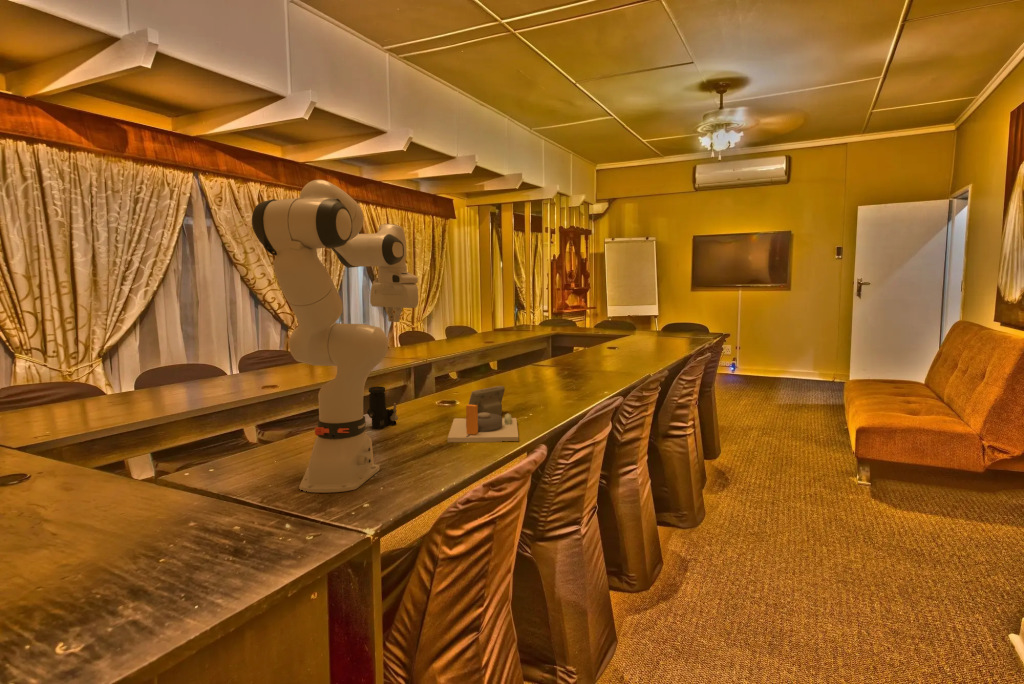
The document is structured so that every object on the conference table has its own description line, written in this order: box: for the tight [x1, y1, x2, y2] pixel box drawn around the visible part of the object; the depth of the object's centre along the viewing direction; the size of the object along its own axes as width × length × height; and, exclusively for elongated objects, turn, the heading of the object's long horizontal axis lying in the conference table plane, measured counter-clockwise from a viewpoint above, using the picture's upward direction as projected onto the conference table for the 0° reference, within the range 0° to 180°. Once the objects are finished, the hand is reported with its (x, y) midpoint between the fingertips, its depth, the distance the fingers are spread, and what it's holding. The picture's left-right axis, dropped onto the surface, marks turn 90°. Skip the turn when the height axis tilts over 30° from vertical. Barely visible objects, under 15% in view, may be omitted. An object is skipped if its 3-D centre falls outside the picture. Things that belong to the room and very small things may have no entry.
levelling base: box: [447, 412, 519, 443], centre depth 181 cm, size 24×22×4 cm
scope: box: [367, 386, 399, 430], centre depth 187 cm, size 8×14×10 cm
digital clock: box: [467, 385, 506, 416], centre depth 203 cm, size 16×9×11 cm, turn 124°
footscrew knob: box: [465, 403, 503, 434], centre depth 179 cm, size 16×12×9 cm
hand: (393, 321), depth 172 cm, fingers closed
